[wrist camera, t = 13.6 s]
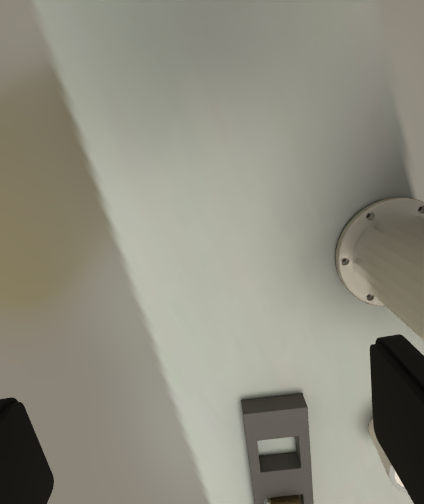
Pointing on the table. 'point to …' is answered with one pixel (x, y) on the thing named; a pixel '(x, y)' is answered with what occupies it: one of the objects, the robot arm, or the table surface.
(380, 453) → the white short cylinder
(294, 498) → the tan upright block
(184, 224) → the table surface
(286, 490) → the rail
